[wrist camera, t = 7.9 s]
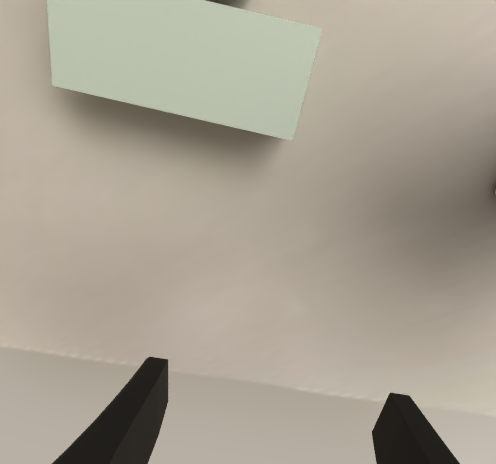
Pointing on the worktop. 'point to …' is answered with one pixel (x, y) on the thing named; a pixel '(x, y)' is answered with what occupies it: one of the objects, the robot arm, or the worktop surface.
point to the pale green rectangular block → (186, 59)
